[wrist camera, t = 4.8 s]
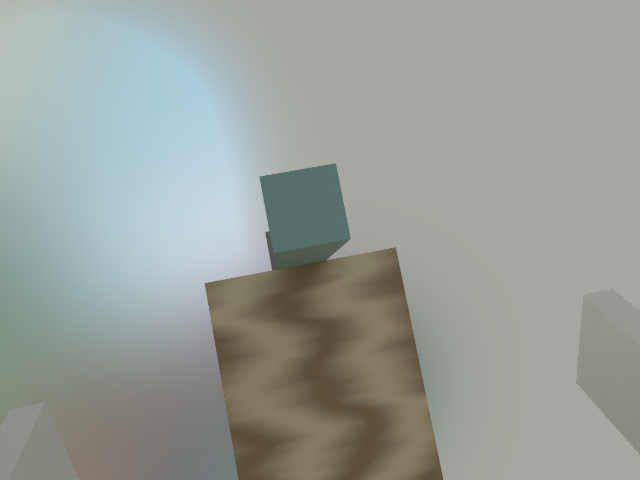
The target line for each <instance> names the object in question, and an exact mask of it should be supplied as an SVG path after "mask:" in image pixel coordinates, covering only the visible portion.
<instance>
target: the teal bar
mask: <svg viewBox="0 0 640 480" xmlns="http://www.w3.org/2000/svg"><path fill="white" fill-rule="evenodd" d="M260 182H261V187H262V193H263V197H264V204H265V209H266V214H267V220H268V225H269V230H270V231H269V232H266V238H267V244H268V249H269V255H270V260H271V266H272V271H273V270H278V269H284V268H289V267H294V266H300V265H305V264H310V263H316V262H321V261H326V260H327V259H328V258H329V257H330V256H331V255H333V253H335V252H336V251H337V250H338V249H339V248H341V247H342V246H343V245H344V244H345V243H346V242H347V241H349V240H350V239H351V238H350V233H349V228H348V224H347V218H346V213H345V208H344V203H343V198H342V193H341V188H340V182H339V178H338V173H337V167H336V164H330V165H324V166H319V167H312V168H307V169H301V170H295V171H290V172H284V173H278V174H272V175H266V176H261V177H260Z"/></svg>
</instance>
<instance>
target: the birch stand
mask: <svg viewBox="0 0 640 480" xmlns="http://www.w3.org/2000/svg"><path fill="white" fill-rule="evenodd" d="M205 287H206V293H207V299H208V305H209V310H210V316H211V322H212V327H213V333H214V339H215V345H216V351H217V356H218V362H219V368H220V374H221V380H222V386H223V392H224V398H225V403H226V409H227V415H228V421H229V427H230V432H231V438H232V444H233V450H234V455H235V461H236V467H237V473H238V479H239V480H443V476H442V472H441V467H440V462H439V457H438V452H437V447H436V442H435V438H434V432H433V428H432V422H431V418H430V413H429V408H428V403H427V398H426V393H425V389H424V384H423V378H422V374H421V369H420V364H419V359H418V354H417V349H416V345H415V339H414V335H413V330H412V325H411V320H410V315H409V310H408V305H407V300H406V295H405V291H404V285H403V281H402V276H401V271H400V266H399V261H398V256H397V251H396V248H390V249H385V250H380V251H374V252H369V253H364V254H358V255H353V256H347V257H342V258H338V259H332V260H327V261H321V262H316V263H310V264H305V265H300V266H294V267H289V268H284V269H278V270H273V271H268V272H262V273H257V274H252V275H247V276H241V277H236V278H230V279H226V280H220V281H214V282H210V283H205Z"/></svg>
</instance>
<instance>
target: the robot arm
mask: <svg viewBox="0 0 640 480" xmlns="http://www.w3.org/2000/svg"><path fill="white" fill-rule="evenodd" d="M576 383H577V384H578V385H579V386H580V387H581V388H582V390H583V391H584V392H585V393H586V394H587V395H588V396H589V398H590V399H591V400H592V401H593V402H594V403H595V404H596V405H597V407H598V408H599V409H600V410H601V411H602V412H603V413H604V414H605V416H606V417H607V418H608V419H609V420H610V421H611V422H612V424H613V425H614V426H615V427H616V428H617V429H618V430H619V431H620V433H621V434H622V435H623V436H624V437H625V438H626V439H627V441H628V442H629V443H630V444H631V445H632V446H633V447H634V448H635V450H636V451H637V452H638V453H639V454H640V310H638V309H637V308H636V307H634V306H633V305H632V304H631V303H629V302H628V301H627V300H626V299H624V298H623V297H622V296H620V295H619V294H618V293H617V292H615V291H614V290H612V289H611V290H606V291H601V292H596V293H591V294H587V295H584V296H583V306H582V319H581V331H580V343H579V356H578V367H577V380H576ZM0 480H79V478H78V476H77V474H76V472H75V469H74V467H73V465H72V463H71V460H70V458H69V456H68V454H67V451H66V449H65V447H64V445H63V443H62V440H61V438H60V436H59V434H58V431H57V430H56V427H55V425H54V423H53V420H52V418H51V416H50V414H49V411H48V409H47V407H46V405H45V403H40V404H35V405H30V406H25V407H20V408H15V409H11V410H10V411H9V413H8V415H7V417H6V419H5V421H4V422H3V425H2V426H1V428H0Z"/></svg>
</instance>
